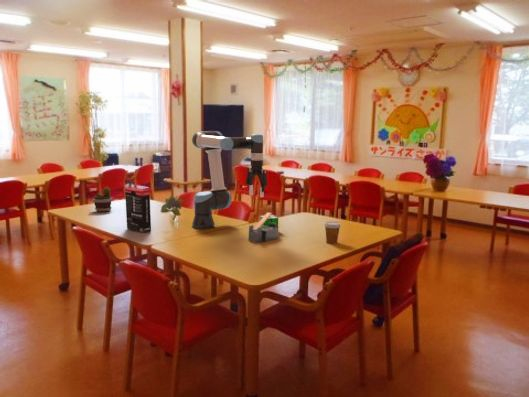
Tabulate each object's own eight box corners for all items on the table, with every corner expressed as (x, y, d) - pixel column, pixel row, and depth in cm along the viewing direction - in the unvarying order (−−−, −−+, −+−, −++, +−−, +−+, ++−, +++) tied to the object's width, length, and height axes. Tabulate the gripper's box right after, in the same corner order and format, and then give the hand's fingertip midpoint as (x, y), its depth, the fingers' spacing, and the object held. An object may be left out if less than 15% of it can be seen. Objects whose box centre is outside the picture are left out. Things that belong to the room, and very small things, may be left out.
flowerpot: (95, 213, 343) (93, 187, 339) (92, 210, 356) (90, 185, 352) (115, 212, 349) (113, 186, 346) (111, 208, 363) (110, 183, 359)
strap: (251, 230, 274) (251, 228, 273) (266, 213, 284) (266, 211, 283) (258, 232, 271) (257, 230, 270) (273, 214, 281) (272, 212, 280)
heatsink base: (246, 239, 276) (246, 225, 275) (265, 233, 291) (265, 220, 290) (261, 243, 269) (261, 228, 267) (280, 236, 284) (280, 222, 282)
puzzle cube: (273, 229, 303) (273, 214, 301) (278, 233, 294) (278, 218, 292) (258, 230, 300) (259, 215, 298) (263, 234, 291) (263, 218, 289)
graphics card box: (152, 231, 294) (150, 189, 289) (143, 233, 288) (142, 191, 283) (134, 227, 303) (132, 187, 298) (125, 229, 297) (124, 188, 292)
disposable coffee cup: (340, 241, 276) (341, 222, 274) (338, 245, 267) (339, 225, 265) (325, 239, 279) (325, 220, 276) (322, 243, 270) (323, 224, 267)
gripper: (240, 159, 282) (239, 195, 286) (266, 161, 269) (265, 199, 273) (247, 158, 287) (247, 193, 291) (274, 160, 275) (273, 197, 279)
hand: (256, 196), depth 282 cm, fingers open, 8 cm apart
